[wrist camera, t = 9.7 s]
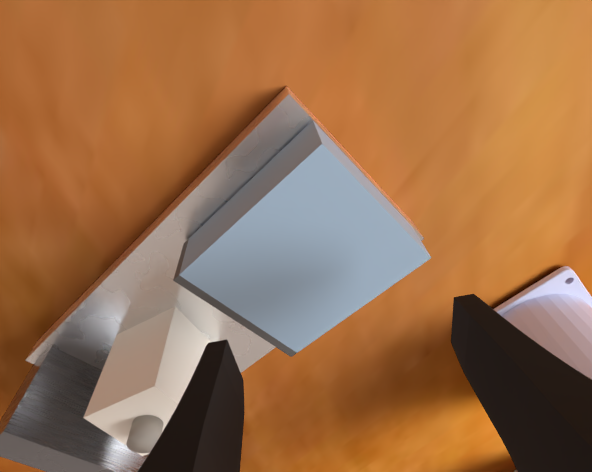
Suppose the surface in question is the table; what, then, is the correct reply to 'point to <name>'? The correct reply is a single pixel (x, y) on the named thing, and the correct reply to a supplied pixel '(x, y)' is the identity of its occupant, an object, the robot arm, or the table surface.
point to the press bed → (141, 309)
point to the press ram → (300, 246)
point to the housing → (146, 379)
